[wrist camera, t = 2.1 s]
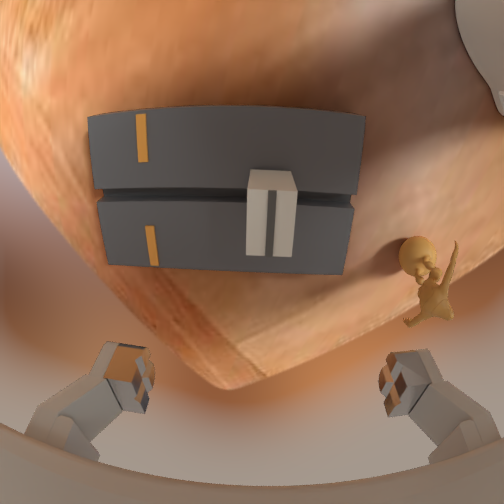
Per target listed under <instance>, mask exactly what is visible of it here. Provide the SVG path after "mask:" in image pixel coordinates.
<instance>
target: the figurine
mask: <svg viewBox="0 0 504 504" xmlns="http://www.w3.org/2000/svg"><path fill="white" fill-rule="evenodd" d="M457 256H458V244H457V242H456V241H455V249H454V251H453V253H452V256H451V260H450V264H449V266H448V268H447V270H446V273H445V275H444V278H443V280H442V283H441V284H440V285H438V284H436V282H438V281H439V280H440V277H441V276H442V270H441V269H439V268H436V267H435V266H434V265H435V263H436V257H437V256H436V250H435V247H434V245H433V244H432V243H431V242H430V241H429V240H428V239H427V238H425V237H421V236H414V237H411V238H409V239H407V240H406V241H405V242H404V243H403V244H402V246H401V248H400V251H399V262H400V265H401V267H402V269H403V270H404V271H405V272H406V273H407V274H409V275H411V276H414V277H415V278H416V282H417V283H418V284H419V285H422V286H421V287H420V288H419V291H418V297H419V298H420V308H421V312H420V314H418V315H417V316H416V317H414V318H413V319H412V320H411V319H410V320H409V318H408V319H405V320H404V318H403V321H404V323H405V324H406V325H407V326H408V327H413V326H415V325H417V324H419V323H420V322H421V321H423V320H426V319H428V318H430V317H440V318H442V319H445V320H451V319H453V317H454V313H453V310H452V307H451V306H450V304H449V302H448V289H449V283H450V281H451V278H452V275H453V272H454V267H455V264H456V258H457ZM429 272H430V273H429ZM428 273H429V278H428V279H427V280H425V281H424V279H423V277H421V276H424V275H426V274H428Z"/></svg>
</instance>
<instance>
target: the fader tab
mask: <svg viewBox="0 0 504 504" xmlns="http://www.w3.org/2000/svg"><path fill="white" fill-rule="evenodd" d="M297 193H298V191H297V188H296V185H295V182H294V179H293V176H292V173H291V171H279V170H256V169H251V170H250V176H249V182H248V188H247V225H246V255H253V256H265V257H273V256H278V257H292V248H293V238H294V227H295V216H296V205H297Z"/></svg>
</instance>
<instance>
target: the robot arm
mask: <svg viewBox="0 0 504 504" xmlns="http://www.w3.org/2000/svg"><path fill="white" fill-rule="evenodd" d="M455 11H456V19H457V24H458V28H459V31H460V35H461V37H462V40H463V43H464V45H465V48H466V50H467V52H468V54H469V56H470V58H471V60H472V61H473V63H474V65H475V66H476V68H477V69H478V71H479V72H480V74H481V75H482V76H483V78H484V79H485V81H486V82H487V84H488V85H489V87H490V89H491V91H492V95H493V98H494V101H495V104H496V106H497V109H498V111H499V113H500V114H501V115H503V116H504V0H455ZM150 355H151V354H150V351H149V348H147V347H141V346H135V345H128V344H122V343H115V342H109V341H107V342H106V343H105V344H104V346H103V347H102V349H101V351H100V353H99V355H98V357H97V359H96V361H95V363H94V365H93V367H92V370H91V372H90V374H89V375H84V376H82V377H81V378H79V379H78V380H76V381H75V382H73V383H72V384H70V385H69V386H67V387H66V388H64V389H63V390H61V391H60V392H58V393H57V394H55V395H53V396H52V397H51V398H49V399H47V400H46V401H45V402H43V403H41V404H40V405H38V406H37V408H36V410H35V412H34V414H33V416H32V418H31V420H30V423H29V425H28V427H27V429H26V431H25V433H24V434H22V433H20V432H18V431H16V430H14V429H12V428H10V427H8V426H6V425H4V424H2V423H0V504H504V437H503V438H501V436H500V434H499V431H498V429H497V427H496V424H495V422H494V420H493V418H492V416H491V414H490V412H489V411H488V410H486V409H485V408H484V407H482V406H481V405H480V404H478V403H477V402H476V401H474V400H473V399H472V398H470V397H469V396H467V395H466V394H465V393H463V392H462V391H460V390H459V389H458V388H456V387H455V386H454V385H452V384H451V383H450V382H448V381H444V379H443V378H442V375H441V373H440V371H439V369H438V367H437V365H436V363H435V361H434V359H433V357H432V355H431V353H430V351H429V350H428V349H421V350H410V351H400V352H391V353H390V354H388V356H387V358H386V362H387V365H385V366H384V367H383V368H382V369H381V371H380V374H379V381H378V382H379V389H380V392H381V394H383V395H384V396H385V397H386V399H385V401H384V406H385V409H386V413H387V415H388V417H395V416H402V415H409V417H410V418H411V419H412V420H413V421H414V422H415V423H416V424H417V425H418V426H419V427H420V429H422V431H423V432H424V433H425V434H426V435H427V436H428V437H429V438H430V439H431V440H432V441H433V442H434V443H435V444H436V445H437V446H438V447H437V448H436V449H435V450H434V451H433V452H432V453H431V454H430V455H429V457H428V459H429V463H430V464H429V465H425V466H421V467H418V468H414V469H410V470H406V471H401V472H397V473H392V474H387V475H382V476H377V477H372V478H365V479H359V480H351V481H344V482H336V483H326V484H313V485H299V486H298V485H296V486H241V485H224V484H212V483H202V482H194V481H185V480H179V479H172V478H166V477H160V476H154V475H150V474H145V473H140V472H136V471H131V470H127V469H123V468H119V467H115V466H111V465H108V464H104V463H100V462H98V459H99V456H100V455H99V452H98V451H97V450H96V449H95V447H94V446H93V445H92V444H91V443H90V442H91V440H93V439H94V438H95V437H96V436H97V435H98V434H99V433H100V432H101V431H102V430H104V428H106V427H107V426H108V425H109V424H110V423H111V422H112V421H113V420H114V419H115V418H116V417H117V416H119V414H121V413H122V410H123V411H129V412H135V413H142V414H145V412H146V409H147V405H148V402H149V396H148V394H147V393H148V392H149V391H150V390H151V389H152V388H153V385H154V379H155V369H154V365H153V363H152V362H151V361H150V360H149V358H150Z"/></svg>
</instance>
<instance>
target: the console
mask: <svg viewBox="0 0 504 504" xmlns="http://www.w3.org/2000/svg"><path fill="white" fill-rule="evenodd" d="M87 118H88V133H89V145H90V155H91V164H92V173H93V180H94V188H95V189H103V193H104V197H102V198H101V199H100V200H99V201H97V207H98V213H99V219H100V225H101V230H102V235H103V241H104V245H105V250H106V255H107V259H108V264H109V265H125V266H142V267H160V268H178V269H198V270H219V271H241V272H266V273H293V274H324V275H342V274H343V269H344V264H345V259H346V254H347V248H348V243H349V238H350V232H351V226H352V220H353V214H354V208H353V206H352V205H351V203H350V198H351V195H357V188H358V181H359V174H360V166H361V158H362V149H363V140H364V131H365V120H366V116H362V115H358V114H354V113H347V112H339V111H330V110H321V109H310V108H298V107H284V106H264V105H192V106H172V107H158V108H146V109H136V110H127V111H118V112H111V113H104V114H99V115H94V116H90V117H87ZM251 169H256V170H279V171H291V173H292V176H293V179H294V182H295V185H296V188H297V191H298V193H297V205H296V216H295V227H294V238H293V248H292V257H278V256H273V257H265V256H253V255H246V225H247V188H248V182H249V176H250V170H251Z"/></svg>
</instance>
